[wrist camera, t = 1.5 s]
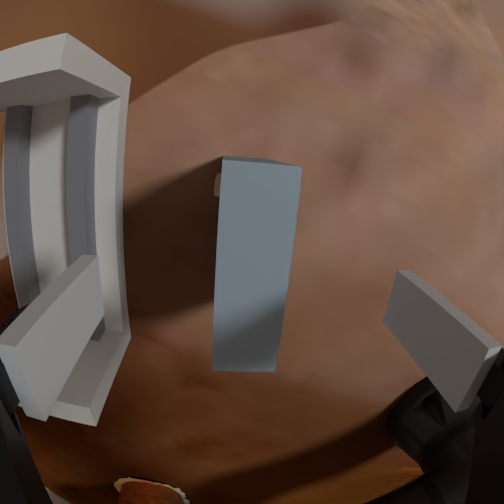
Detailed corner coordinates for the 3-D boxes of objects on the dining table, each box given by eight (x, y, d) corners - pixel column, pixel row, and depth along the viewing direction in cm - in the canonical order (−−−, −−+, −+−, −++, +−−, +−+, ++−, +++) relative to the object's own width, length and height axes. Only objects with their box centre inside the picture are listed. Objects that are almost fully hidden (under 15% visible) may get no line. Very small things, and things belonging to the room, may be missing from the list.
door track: (130, 337, 29) (96, 426, 17) (33, 323, 27) (-22, 390, 16) (130, 78, 21) (66, 32, 10) (19, 93, 20) (-68, 80, 9)
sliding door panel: (254, 285, 28) (274, 371, 17) (211, 282, 28) (206, 370, 16) (266, 159, 25) (302, 166, 13) (219, 155, 24) (215, 159, 13)
